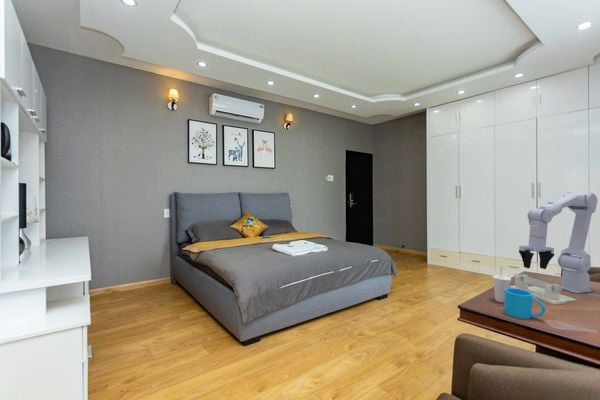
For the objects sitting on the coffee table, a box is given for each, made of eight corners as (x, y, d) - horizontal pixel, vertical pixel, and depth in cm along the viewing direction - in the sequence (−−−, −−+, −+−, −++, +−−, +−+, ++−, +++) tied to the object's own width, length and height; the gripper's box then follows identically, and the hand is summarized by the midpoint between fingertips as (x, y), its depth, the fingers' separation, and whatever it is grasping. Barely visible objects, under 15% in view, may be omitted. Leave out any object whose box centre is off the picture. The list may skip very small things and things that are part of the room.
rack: (520, 287, 136) (520, 273, 136) (565, 303, 118) (566, 286, 117) (509, 288, 135) (510, 273, 134) (554, 304, 116) (554, 287, 116)
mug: (500, 312, 109) (501, 291, 108) (508, 307, 114) (509, 286, 113) (541, 324, 99) (542, 301, 99) (548, 318, 104) (549, 295, 104)
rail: (518, 278, 135) (518, 273, 135) (561, 292, 118) (561, 286, 117) (514, 278, 134) (514, 274, 134) (556, 292, 117) (556, 287, 117)
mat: (535, 286, 137) (535, 285, 137) (576, 300, 120) (576, 299, 120) (523, 287, 135) (523, 287, 135) (563, 302, 119) (563, 301, 119)
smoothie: (504, 298, 123) (505, 265, 122) (514, 304, 117) (515, 269, 116) (488, 297, 124) (489, 264, 123) (497, 303, 117) (498, 269, 117)
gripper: (530, 237, 120) (527, 270, 121) (562, 239, 122) (559, 271, 122) (516, 234, 127) (513, 265, 128) (546, 236, 129) (543, 267, 129)
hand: (534, 268), depth 125 cm, fingers open, 7 cm apart
